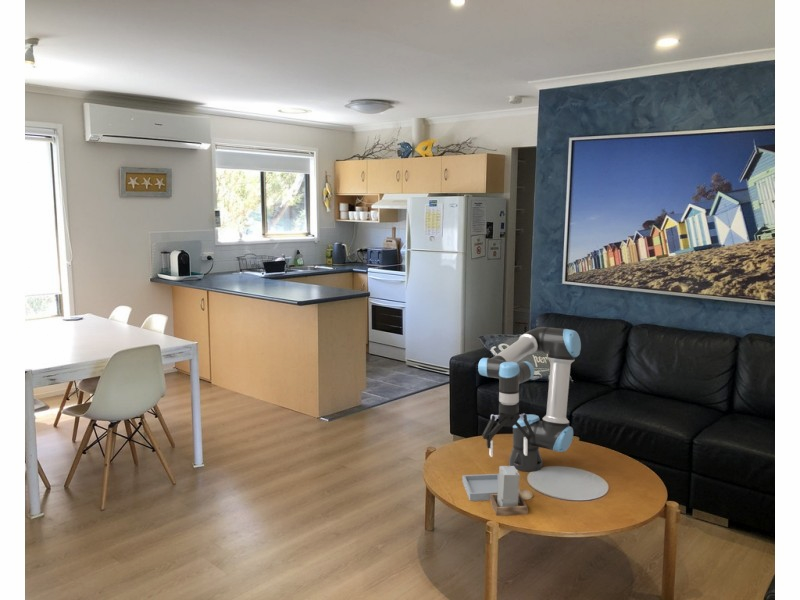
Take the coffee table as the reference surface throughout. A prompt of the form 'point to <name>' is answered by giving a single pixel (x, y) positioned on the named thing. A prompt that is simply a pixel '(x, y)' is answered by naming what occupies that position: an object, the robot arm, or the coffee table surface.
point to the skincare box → (508, 486)
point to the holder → (508, 510)
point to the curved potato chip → (525, 494)
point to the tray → (480, 486)
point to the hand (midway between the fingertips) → (508, 455)
